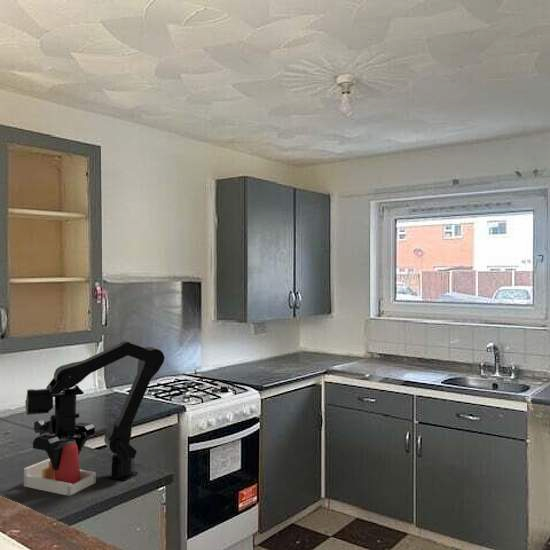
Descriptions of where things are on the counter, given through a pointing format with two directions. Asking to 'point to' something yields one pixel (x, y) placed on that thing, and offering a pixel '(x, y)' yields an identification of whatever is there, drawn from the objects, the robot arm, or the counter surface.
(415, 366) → the counter surface
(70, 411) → the robot arm
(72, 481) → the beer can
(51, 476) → the pusher
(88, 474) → the white tray
